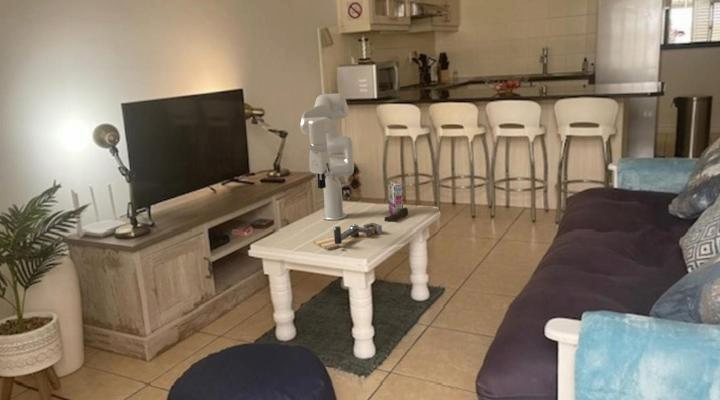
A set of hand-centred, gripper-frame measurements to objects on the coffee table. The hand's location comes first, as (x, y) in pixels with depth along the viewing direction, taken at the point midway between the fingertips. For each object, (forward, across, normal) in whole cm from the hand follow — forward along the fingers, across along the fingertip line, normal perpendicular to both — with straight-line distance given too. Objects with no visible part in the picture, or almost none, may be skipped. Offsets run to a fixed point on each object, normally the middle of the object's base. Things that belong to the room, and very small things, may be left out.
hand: (321, 187), depth 265 cm
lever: (+24, +13, +5) cm, 28 cm away
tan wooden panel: (+25, +7, +8) cm, 27 cm away
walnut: (+24, +12, +18) cm, 32 cm away
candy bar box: (+25, -9, +54) cm, 60 cm away
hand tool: (+26, -1, +47) cm, 53 cm away
